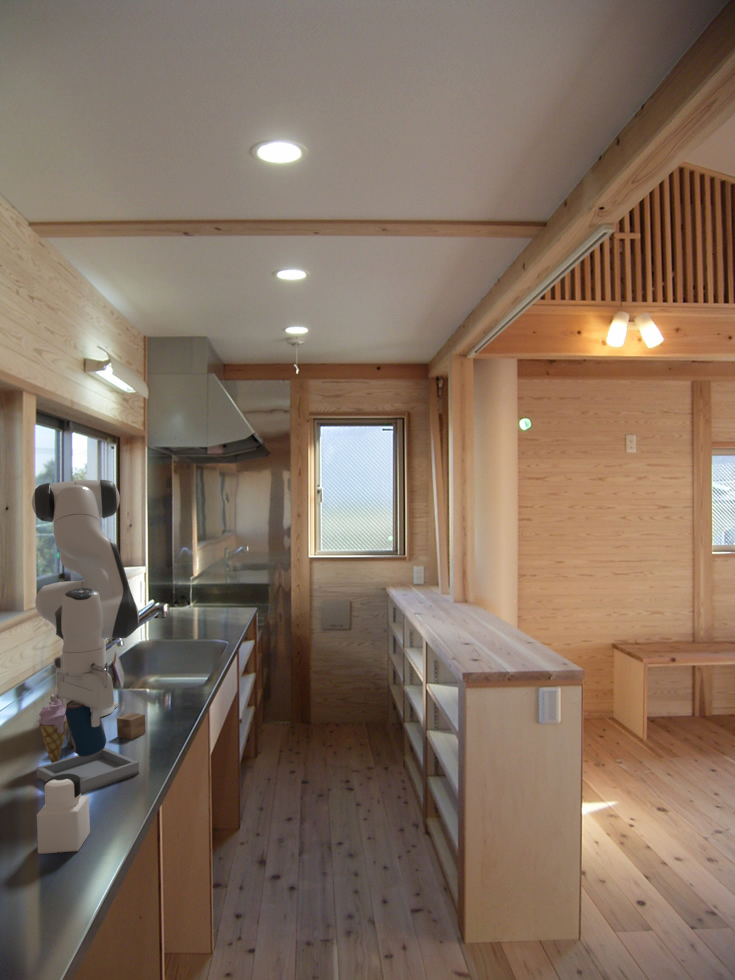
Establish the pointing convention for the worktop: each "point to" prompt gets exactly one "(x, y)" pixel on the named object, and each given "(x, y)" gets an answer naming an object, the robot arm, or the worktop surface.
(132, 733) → the walnut block
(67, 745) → the dark metal canister
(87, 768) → the slate tray
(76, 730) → the soda can
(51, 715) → the ice cream cone
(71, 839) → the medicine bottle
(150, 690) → the worktop surface
